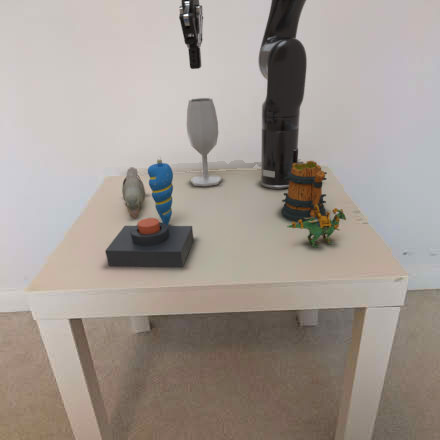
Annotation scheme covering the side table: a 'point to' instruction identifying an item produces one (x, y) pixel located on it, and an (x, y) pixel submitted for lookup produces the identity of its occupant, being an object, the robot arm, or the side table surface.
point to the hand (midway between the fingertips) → (195, 68)
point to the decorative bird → (133, 191)
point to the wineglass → (203, 135)
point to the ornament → (162, 189)
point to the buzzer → (151, 247)
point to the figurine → (320, 225)
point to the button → (148, 226)
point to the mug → (304, 192)
